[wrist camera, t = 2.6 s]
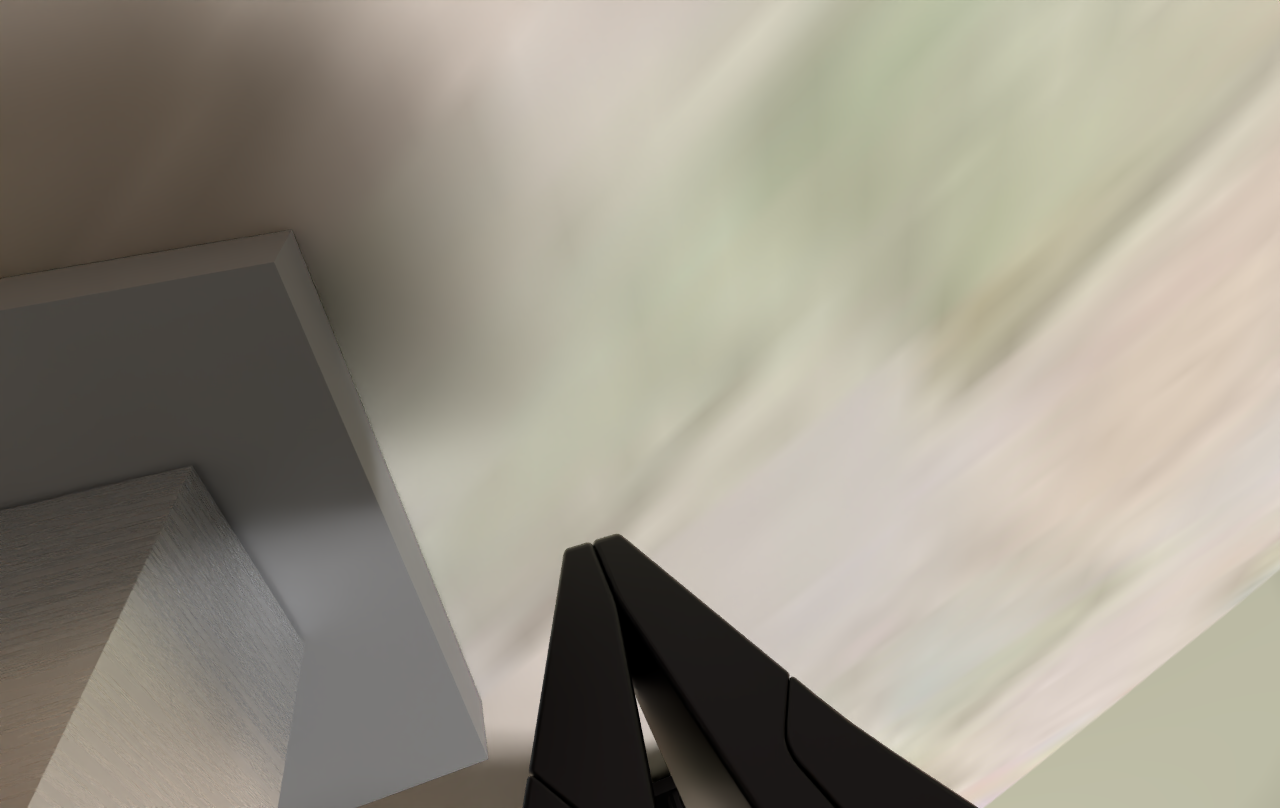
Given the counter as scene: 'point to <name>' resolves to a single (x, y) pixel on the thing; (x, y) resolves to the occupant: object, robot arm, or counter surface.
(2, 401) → the bolt plate
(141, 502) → the slide leg
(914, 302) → the counter surface
